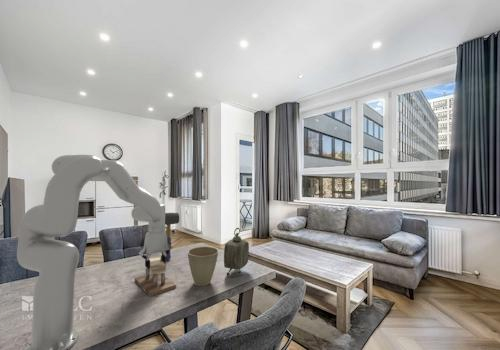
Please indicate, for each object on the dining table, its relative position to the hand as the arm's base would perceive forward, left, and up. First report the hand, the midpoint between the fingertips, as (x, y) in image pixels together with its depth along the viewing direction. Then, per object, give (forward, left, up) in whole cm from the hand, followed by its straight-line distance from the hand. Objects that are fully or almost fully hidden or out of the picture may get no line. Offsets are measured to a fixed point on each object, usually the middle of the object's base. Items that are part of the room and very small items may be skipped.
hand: (155, 265), depth 111 cm
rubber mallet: (+28, -19, -9) cm, 35 cm away
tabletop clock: (-16, -39, -9) cm, 43 cm away
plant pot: (-14, -18, -9) cm, 25 cm away
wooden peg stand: (0, 0, -9) cm, 9 cm away
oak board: (0, 0, -1) cm, 1 cm away
